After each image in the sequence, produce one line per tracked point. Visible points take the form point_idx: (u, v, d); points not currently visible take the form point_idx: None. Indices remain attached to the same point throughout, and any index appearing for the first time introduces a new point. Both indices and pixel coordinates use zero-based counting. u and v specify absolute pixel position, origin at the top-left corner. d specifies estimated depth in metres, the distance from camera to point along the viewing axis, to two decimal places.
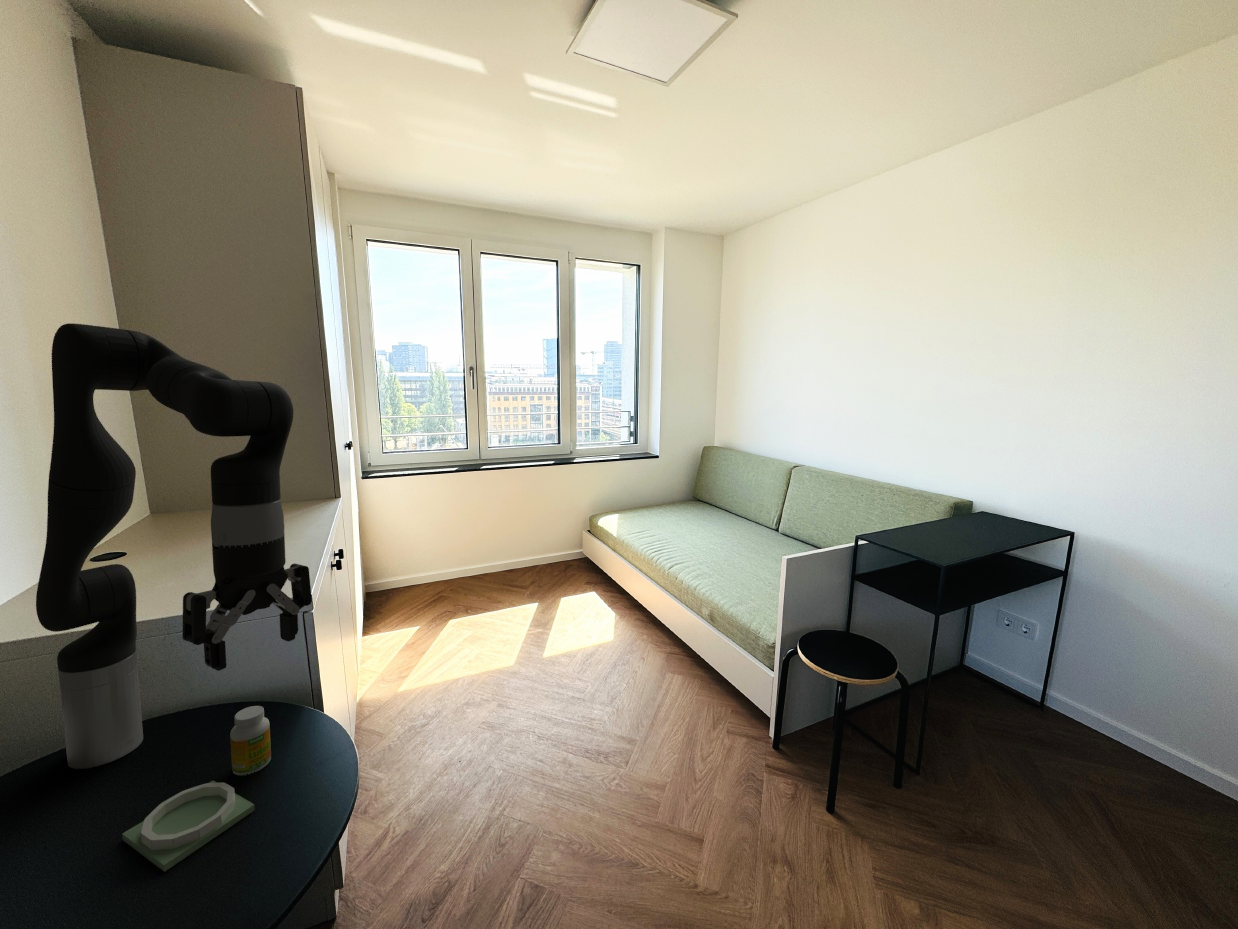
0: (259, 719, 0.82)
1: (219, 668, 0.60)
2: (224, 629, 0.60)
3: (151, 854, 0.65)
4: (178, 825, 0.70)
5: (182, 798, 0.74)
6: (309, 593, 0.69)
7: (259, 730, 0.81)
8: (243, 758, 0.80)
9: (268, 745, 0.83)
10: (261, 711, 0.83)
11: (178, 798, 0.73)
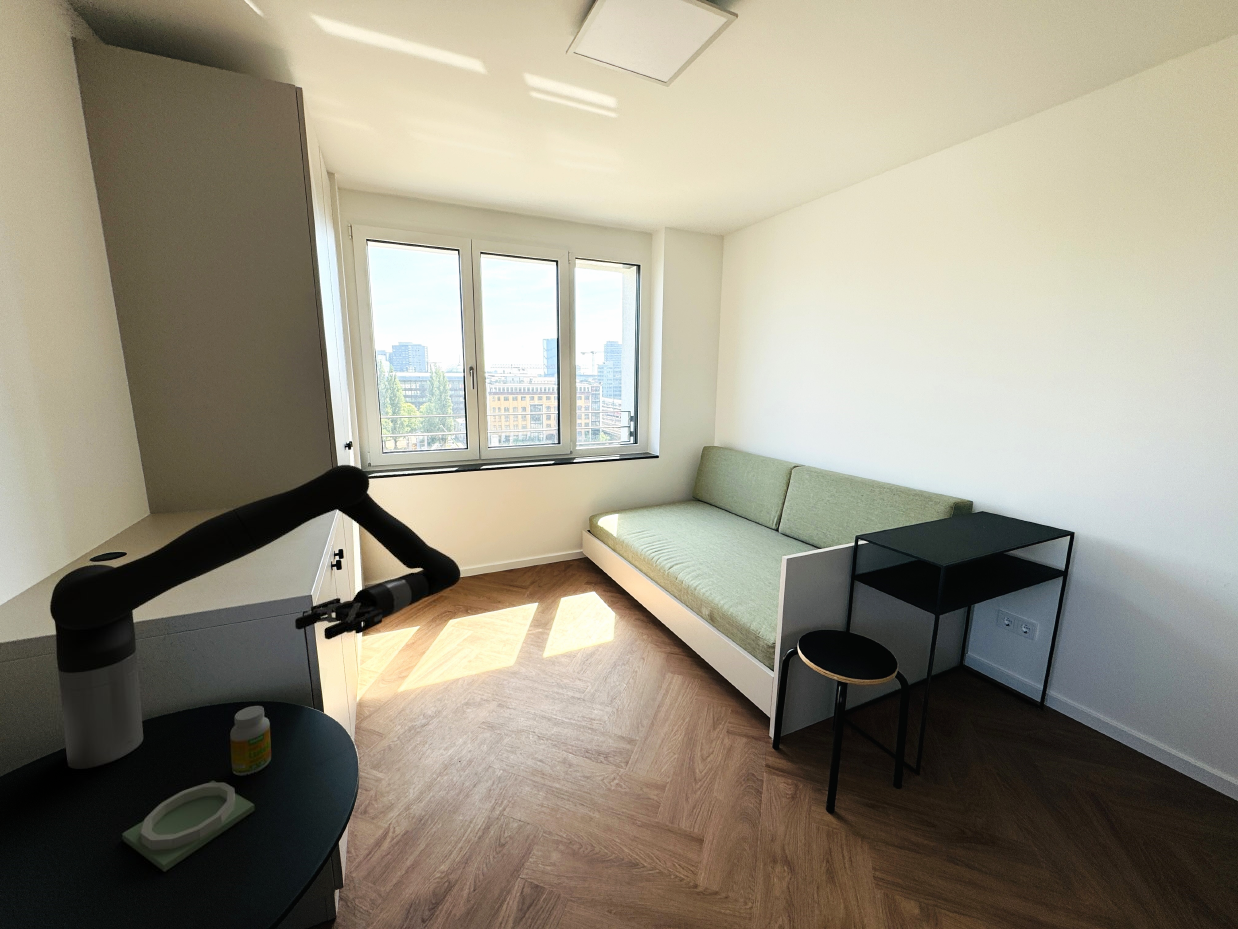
0: (259, 719, 0.82)
1: (329, 638, 0.90)
2: None
3: (151, 854, 0.65)
4: (178, 825, 0.70)
5: (182, 798, 0.74)
6: None
7: (259, 730, 0.81)
8: (243, 758, 0.80)
9: (268, 745, 0.83)
10: (261, 711, 0.83)
11: (178, 798, 0.73)
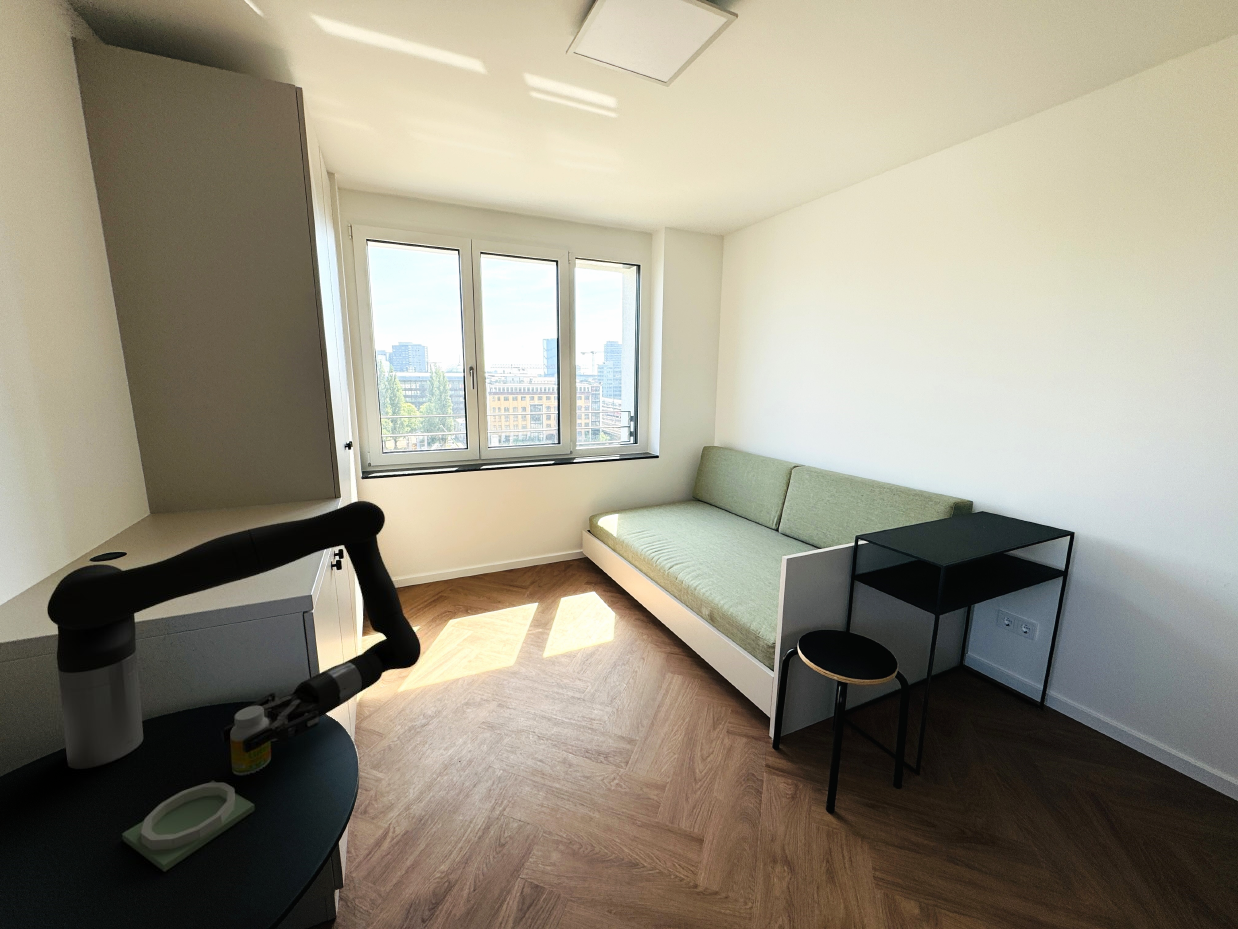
0: (259, 719, 0.82)
1: (247, 751, 0.79)
2: None
3: (151, 854, 0.65)
4: (178, 825, 0.70)
5: (182, 798, 0.74)
6: None
7: (259, 730, 0.81)
8: (242, 757, 0.80)
9: (268, 745, 0.83)
10: (261, 711, 0.83)
11: (178, 798, 0.73)
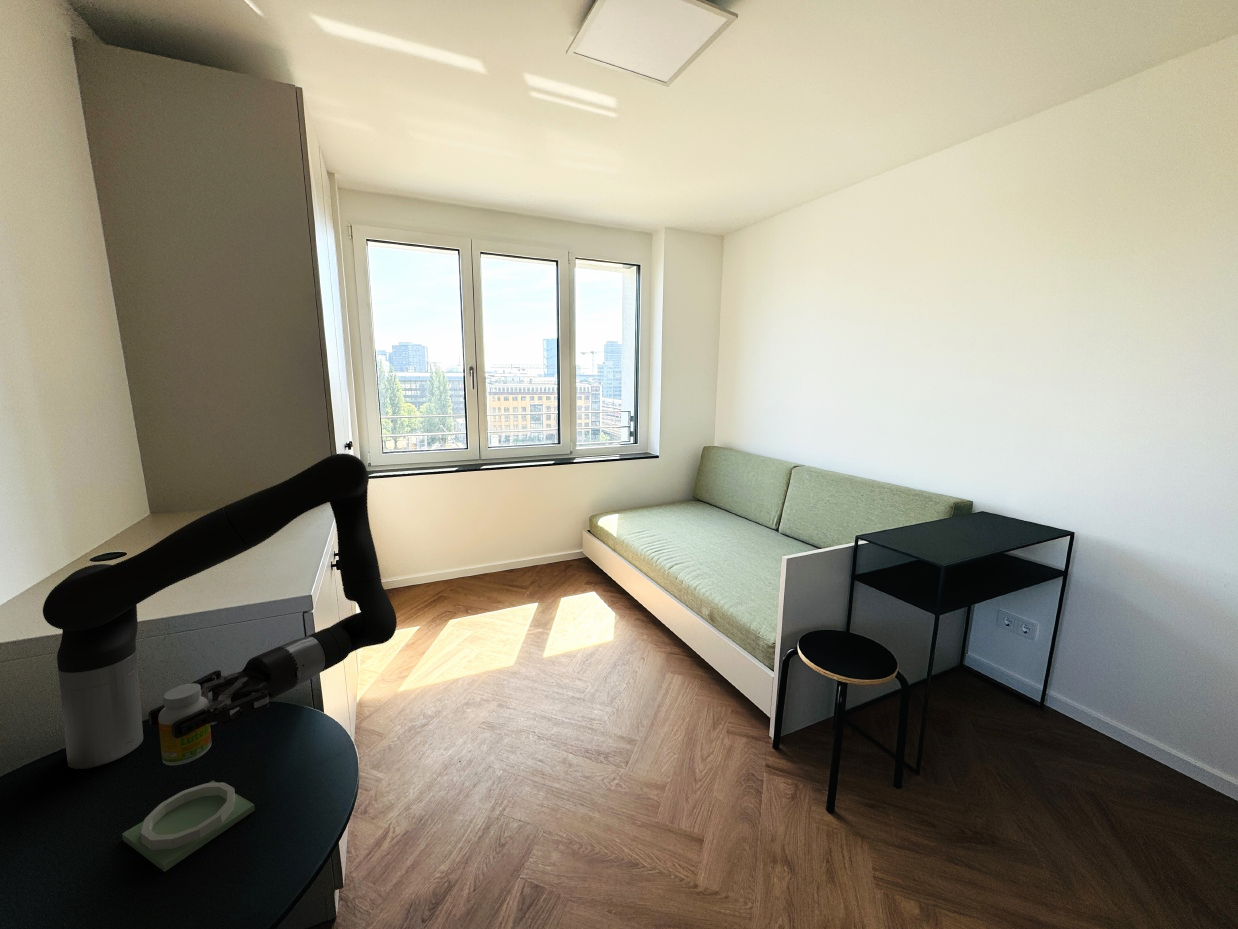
0: (193, 699, 0.69)
1: (178, 737, 0.66)
2: None
3: (151, 854, 0.65)
4: (178, 825, 0.70)
5: (182, 798, 0.74)
6: None
7: (194, 711, 0.68)
8: (173, 744, 0.67)
9: (206, 730, 0.70)
10: (197, 689, 0.69)
11: (178, 798, 0.73)
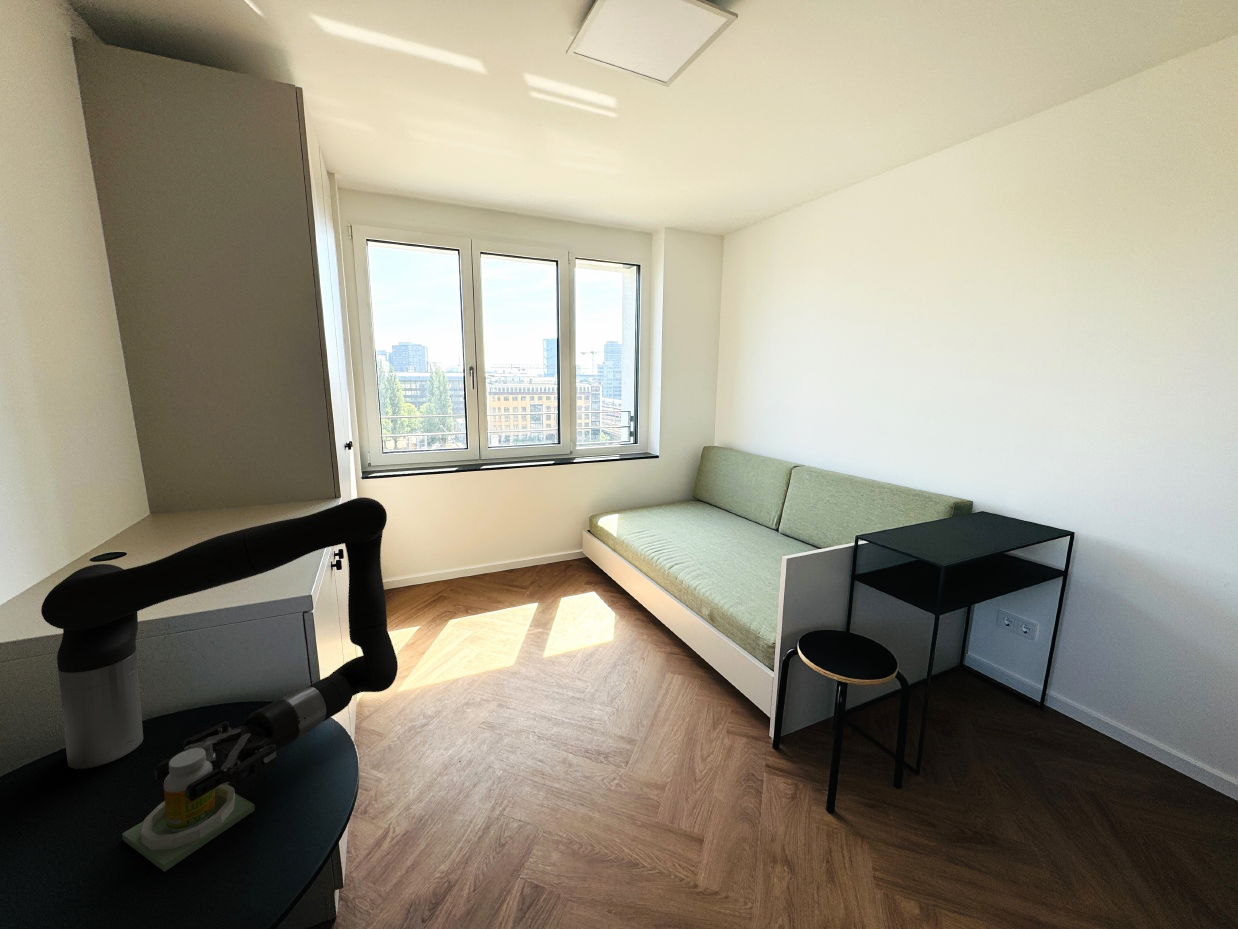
0: (198, 765, 0.70)
1: (192, 799, 0.67)
2: None
3: (151, 854, 0.65)
4: None
5: None
6: None
7: (198, 778, 0.69)
8: (178, 811, 0.68)
9: (210, 794, 0.71)
10: (201, 755, 0.71)
11: None
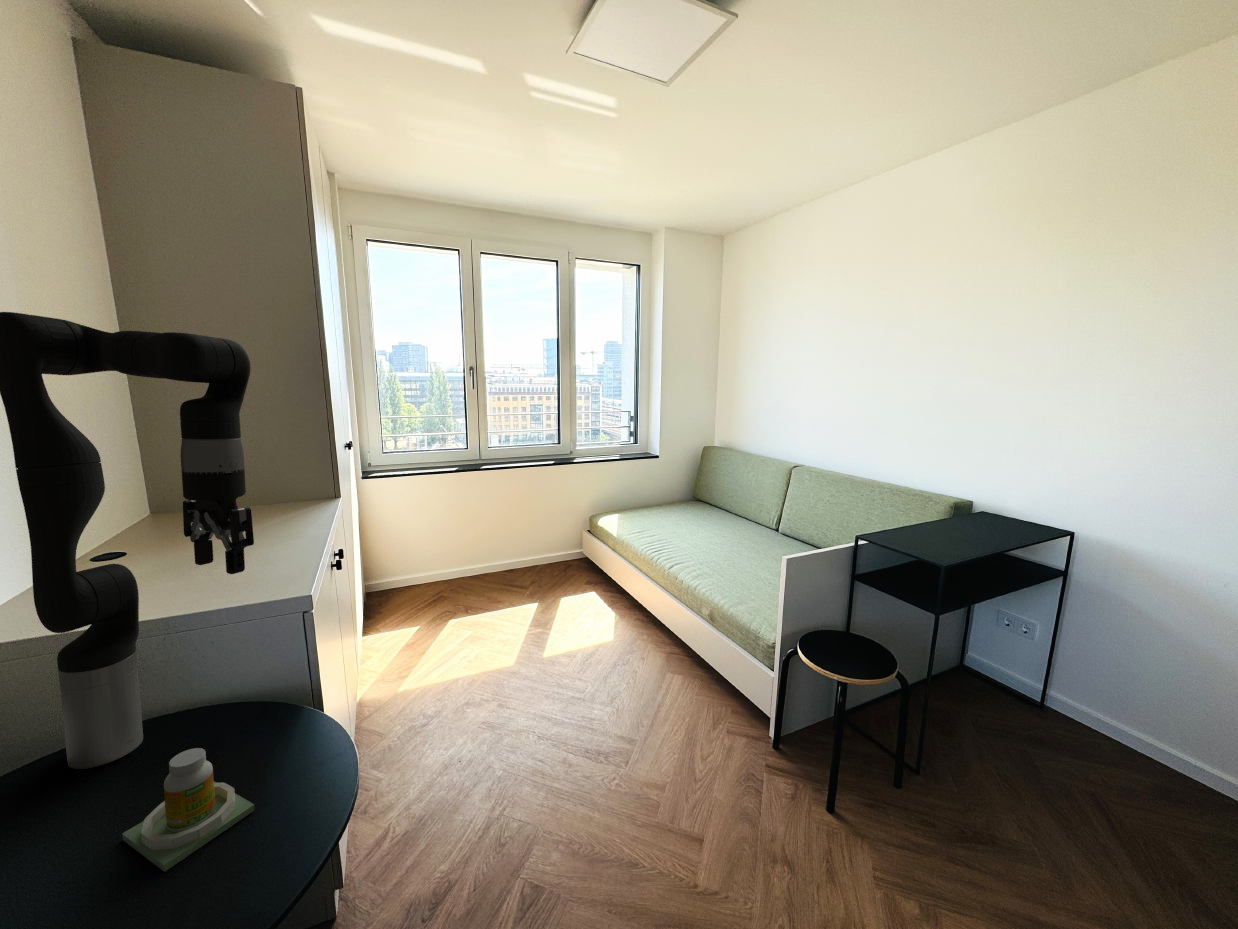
0: (198, 765, 0.70)
1: (243, 569, 0.75)
2: None
3: (151, 854, 0.65)
4: None
5: None
6: None
7: (199, 778, 0.70)
8: (178, 811, 0.68)
9: (210, 794, 0.71)
10: (202, 755, 0.71)
11: None
